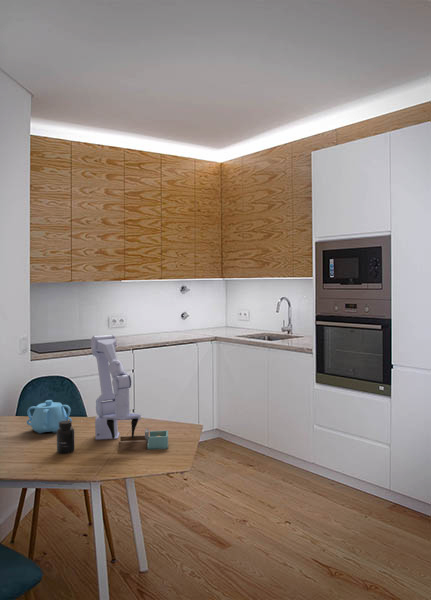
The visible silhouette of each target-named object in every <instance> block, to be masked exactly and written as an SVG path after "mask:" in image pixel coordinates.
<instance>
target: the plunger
mask: <svg viewBox="0 0 431 600" xmlns="http://www.w3.org/2000/svg"><path fill="white" fill-rule="evenodd" d="M144 435H145V440H146V443H148V441H149V437H150V430H149V428H145V431H144Z"/></svg>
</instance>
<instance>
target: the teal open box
mask: <svg viewBox="0 0 431 600" xmlns="http://www.w3.org/2000/svg"><path fill="white" fill-rule="evenodd" d="M167 449H169V430H149V441H148V444H147V450H148V451H149V450H151V451H152V450H167Z"/></svg>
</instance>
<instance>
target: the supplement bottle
mask: <svg viewBox="0 0 431 600" xmlns="http://www.w3.org/2000/svg"><path fill="white" fill-rule="evenodd" d="M72 422H73V421H72ZM72 422H71V421H70V420H69V419H68V420H65V421H61V422H59V429H58V430H57V432H56V452H57V453H58V454H60V455H67V454H71V453H73V452H75V428H74V427H72V426H73V425H72V424H73V423H72Z"/></svg>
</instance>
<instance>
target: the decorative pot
mask: <svg viewBox="0 0 431 600" xmlns="http://www.w3.org/2000/svg"><path fill="white" fill-rule="evenodd" d="M65 408H66V409H67V411H66V409H65ZM33 409H34V411H33V412H32V413H31V410H33ZM71 411H72V410H71V407H70V406H69V405H68V404H62V403H61V402H59V401H58V402H54V401H53V399H48V400H45V401H44V402H42V403H38V404H37V405H36V406H34V405H33V406H30V407H28V408H27V412H26V413H27V416H28V418H29V419H27V420H26V424H27V425H28V426H31V429H32V430H33V431H34V432H37V434H43V433H47V432H49V433H50V432H52V433H54V434H57V430H58V429H59V422H61V421H65V420H69V421H71V422H73V419H72V418H71V417H70V415H71Z"/></svg>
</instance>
